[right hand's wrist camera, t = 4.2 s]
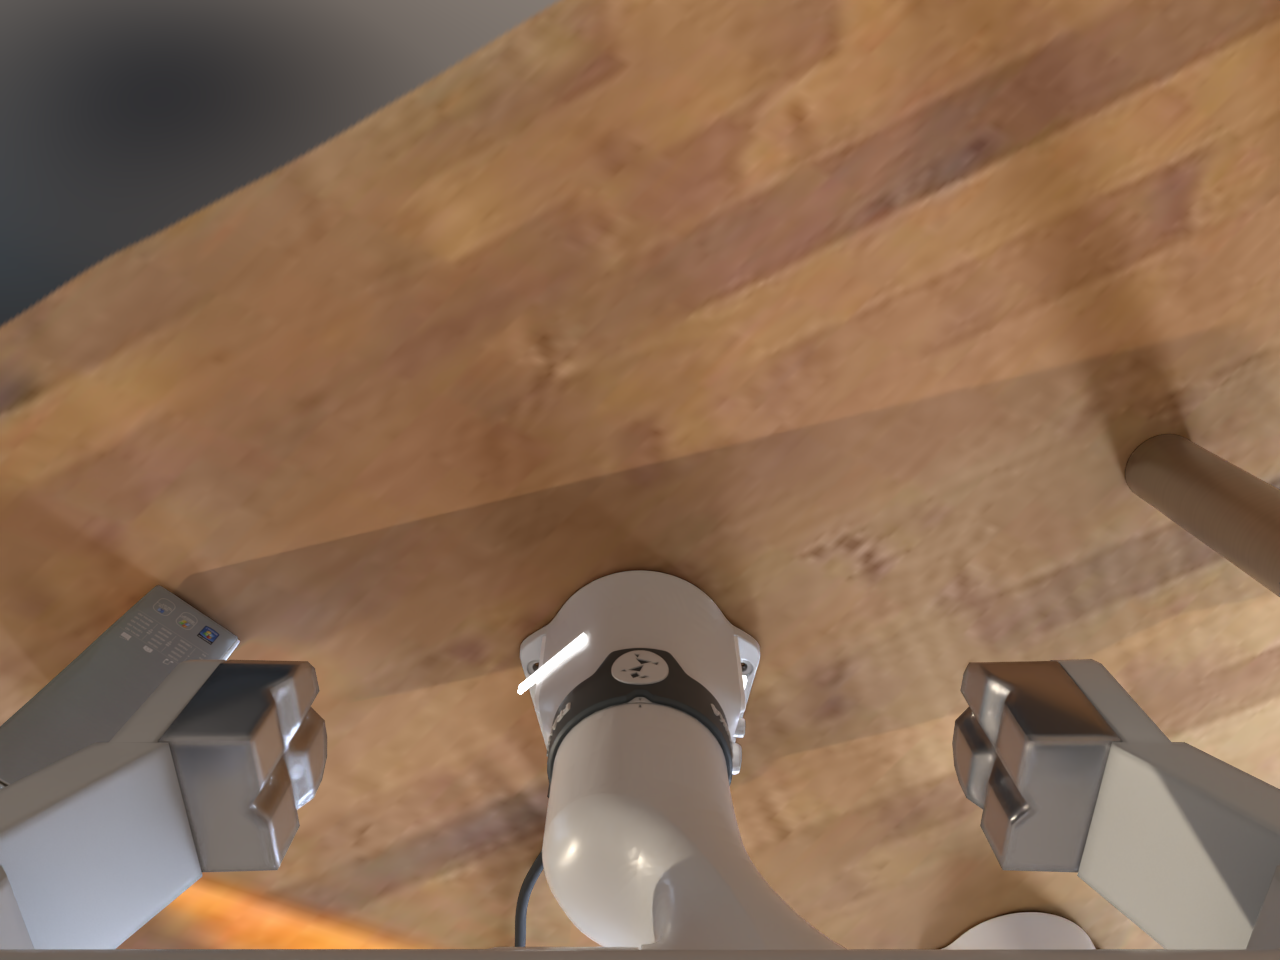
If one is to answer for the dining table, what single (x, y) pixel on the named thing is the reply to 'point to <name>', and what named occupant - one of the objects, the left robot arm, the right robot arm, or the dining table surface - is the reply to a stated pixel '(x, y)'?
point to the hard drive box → (109, 682)
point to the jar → (1212, 502)
